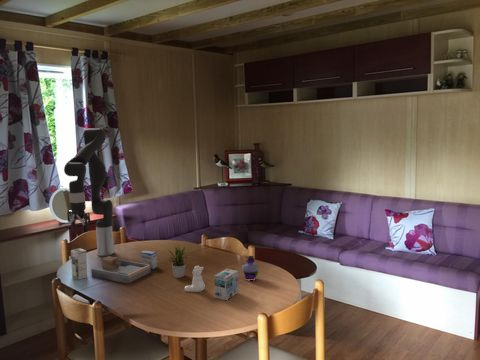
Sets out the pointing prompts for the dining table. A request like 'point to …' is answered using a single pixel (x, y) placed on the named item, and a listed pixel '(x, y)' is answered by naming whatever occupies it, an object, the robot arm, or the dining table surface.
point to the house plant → (178, 262)
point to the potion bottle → (250, 268)
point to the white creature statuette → (196, 281)
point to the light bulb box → (226, 284)
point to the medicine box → (149, 258)
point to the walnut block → (110, 263)
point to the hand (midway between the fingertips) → (79, 231)
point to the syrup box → (79, 263)
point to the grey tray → (123, 271)
